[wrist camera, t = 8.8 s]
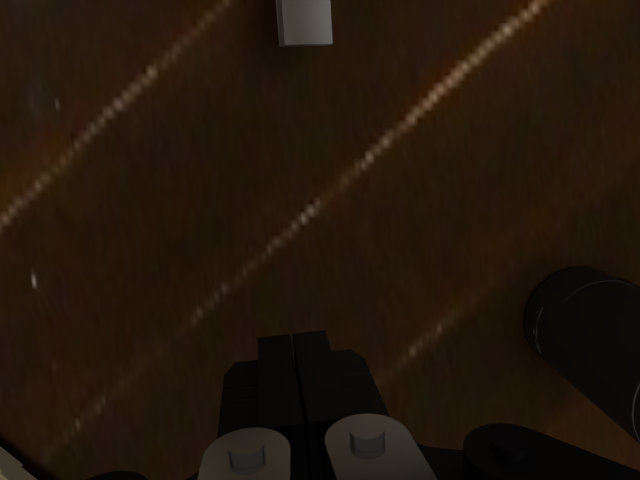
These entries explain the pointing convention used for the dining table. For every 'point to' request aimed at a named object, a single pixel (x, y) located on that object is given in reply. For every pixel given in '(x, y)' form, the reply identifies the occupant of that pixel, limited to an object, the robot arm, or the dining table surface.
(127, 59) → the dining table surface
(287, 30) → the chute
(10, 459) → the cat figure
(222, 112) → the dining table surface
